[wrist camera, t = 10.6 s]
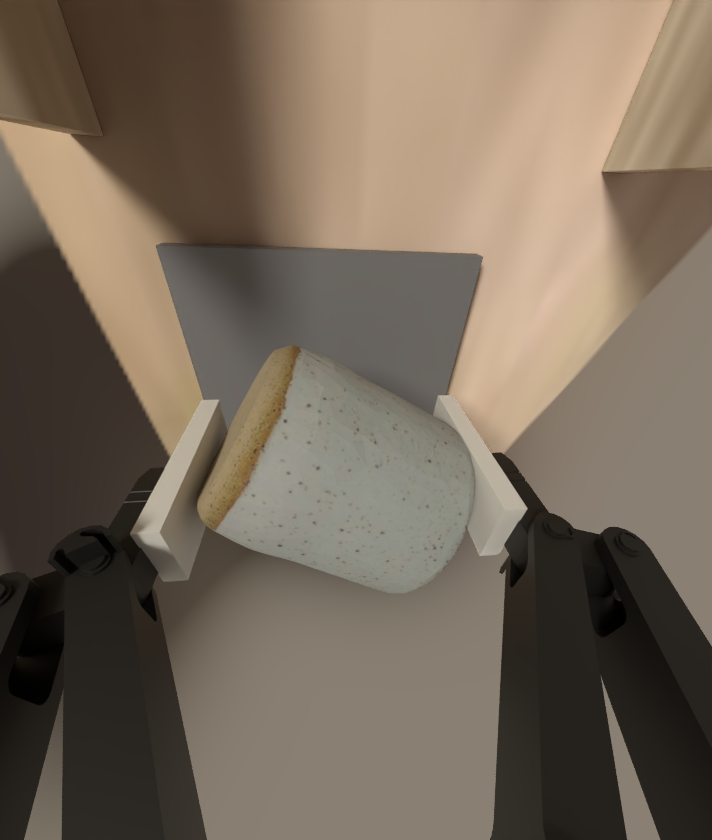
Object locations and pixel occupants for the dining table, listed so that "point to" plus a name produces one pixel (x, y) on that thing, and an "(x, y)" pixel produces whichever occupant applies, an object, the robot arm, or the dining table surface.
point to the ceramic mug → (340, 476)
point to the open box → (631, 153)
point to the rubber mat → (320, 313)
